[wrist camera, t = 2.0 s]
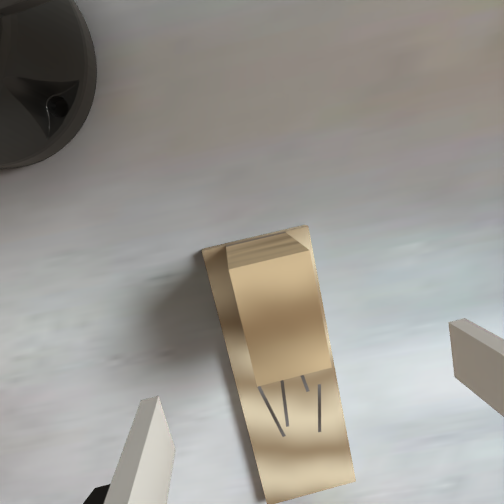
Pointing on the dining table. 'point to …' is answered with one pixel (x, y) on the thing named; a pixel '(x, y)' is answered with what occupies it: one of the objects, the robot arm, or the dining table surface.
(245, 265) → the block
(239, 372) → the board
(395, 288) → the dining table surface
